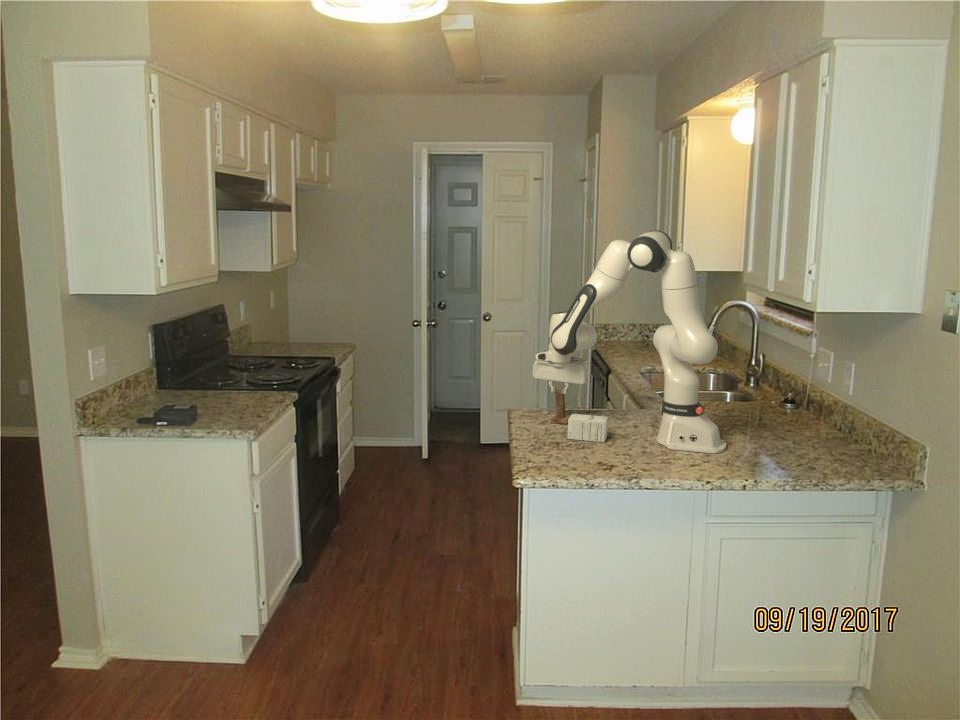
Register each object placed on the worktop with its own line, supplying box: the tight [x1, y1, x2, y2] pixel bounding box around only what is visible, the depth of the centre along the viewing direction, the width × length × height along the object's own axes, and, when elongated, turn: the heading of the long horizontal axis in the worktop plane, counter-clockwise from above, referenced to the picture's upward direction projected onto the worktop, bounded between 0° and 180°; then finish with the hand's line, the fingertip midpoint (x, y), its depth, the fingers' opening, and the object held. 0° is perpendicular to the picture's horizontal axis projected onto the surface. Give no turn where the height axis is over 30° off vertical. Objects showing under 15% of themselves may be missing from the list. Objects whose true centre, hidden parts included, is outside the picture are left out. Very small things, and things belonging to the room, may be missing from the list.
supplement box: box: [567, 413, 609, 443], centre depth 254 cm, size 7×7×13 cm
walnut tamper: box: [550, 389, 571, 425], centre depth 273 cm, size 6×6×12 cm
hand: (559, 393), depth 271 cm, fingers open, 3 cm apart
